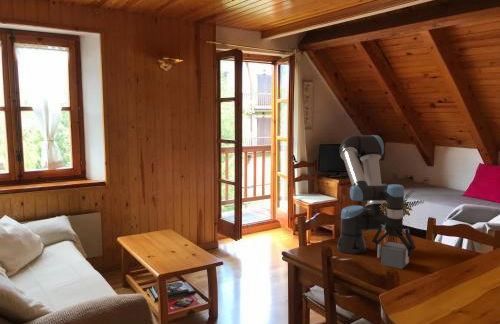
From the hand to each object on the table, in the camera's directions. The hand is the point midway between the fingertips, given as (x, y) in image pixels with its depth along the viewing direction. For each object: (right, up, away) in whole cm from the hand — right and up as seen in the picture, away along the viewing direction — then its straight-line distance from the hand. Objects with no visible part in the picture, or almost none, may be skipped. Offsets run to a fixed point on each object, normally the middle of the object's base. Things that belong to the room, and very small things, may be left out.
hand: (392, 259), depth 203 cm
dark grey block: (+2, -2, +2) cm, 4 cm away
